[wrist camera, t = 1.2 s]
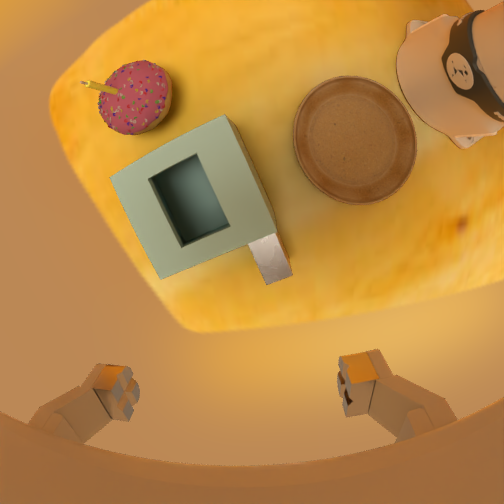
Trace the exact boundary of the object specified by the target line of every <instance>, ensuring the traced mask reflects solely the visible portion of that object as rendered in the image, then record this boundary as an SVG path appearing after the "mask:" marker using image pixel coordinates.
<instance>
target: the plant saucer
mask: <svg viewBox="0 0 504 504" xmlns="http://www.w3.org/2000/svg"><path fill="white" fill-rule="evenodd" d="M293 140H294V148H295V152H296V156H297V159H298V161H299V163H300V166H301V168H302V169H303V171H304V173H305V174H306V176H307V177H308V178H309V180H310V181H311V182H312V183H313V184H314V185H315V186H316V187H317V188H318V189H319V190H320V191H322V192H323V193H325V194H326V195H328V196H330V197H332V198H333V199H335V200H338V201H340V202H344V203H347V204H353V205H367V204H373V203H376V202H380V201H382V200H384V199H386V198H388V197H390V196H391V195H393V194H394V193H396V192H397V191H398V190H399V189H400V188H401V187H402V186H403V184H404V183H405V182H406V180H407V179H408V177H409V175H410V173H411V171H412V169H413V166H414V163H415V159H416V153H417V139H416V132H415V128H414V125H413V121H412V119H411V117H410V115H409V113H408V111H407V109H406V108H405V106H404V105H403V103H402V102H401V101H400V100H399V98H398V97H397V96H396V95H395V94H394V93H392V92H391V91H390V90H389V89H387V88H386V87H385V86H383V85H381V84H380V83H378V82H376V81H373V80H371V79H367V78H364V77H358V76H339V77H335V78H332V79H329V80H327V81H324V82H322V83H321V84H319V85H318V86H316V87H315V88H314V89H312V90H311V91H310V92H309V93H308V95H307V96H306V97H305V98H304V100H303V101H302V103H301V105H300V106H299V109H298V111H297V114H296V117H295V121H294V129H293Z"/></svg>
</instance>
